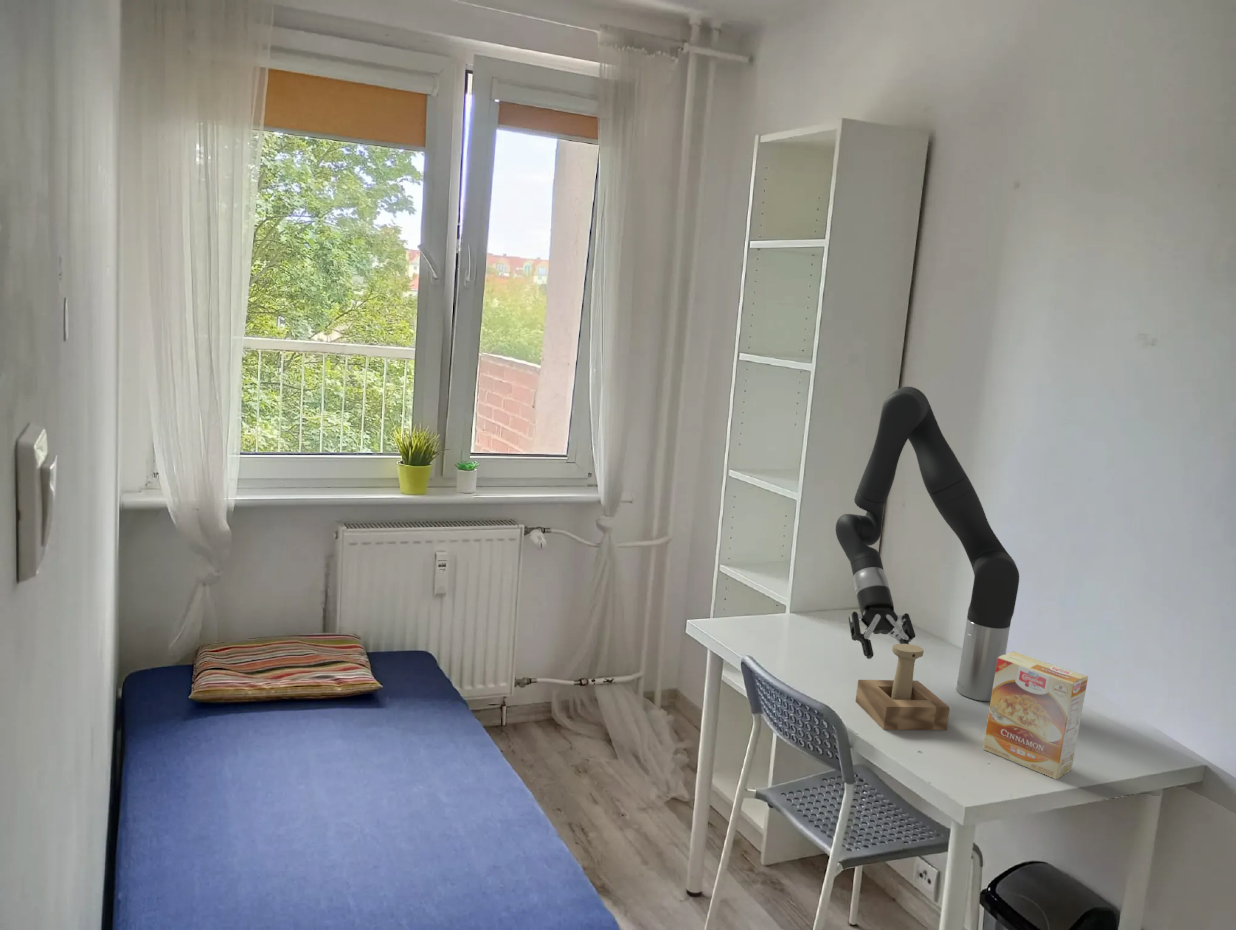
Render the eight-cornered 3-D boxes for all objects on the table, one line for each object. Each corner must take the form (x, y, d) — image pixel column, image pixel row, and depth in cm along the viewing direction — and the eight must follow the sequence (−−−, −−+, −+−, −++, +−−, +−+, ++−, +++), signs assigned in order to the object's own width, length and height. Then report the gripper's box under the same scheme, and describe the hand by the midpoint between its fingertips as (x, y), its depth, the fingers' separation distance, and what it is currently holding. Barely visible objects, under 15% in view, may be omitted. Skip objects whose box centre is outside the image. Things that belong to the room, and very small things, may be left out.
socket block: (914, 701, 213) (917, 680, 212) (946, 730, 199) (949, 707, 199) (855, 701, 210) (858, 679, 210) (883, 729, 197) (886, 706, 196)
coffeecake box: (981, 749, 192) (996, 656, 188) (998, 740, 196) (1013, 649, 193) (1056, 780, 181) (1073, 682, 178) (1072, 770, 186) (1089, 675, 182)
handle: (917, 719, 204) (928, 652, 201) (890, 720, 202) (900, 652, 200) (905, 709, 208) (915, 643, 206) (879, 710, 207) (888, 643, 204)
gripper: (850, 582, 216) (865, 650, 207) (908, 585, 219) (926, 651, 210) (837, 598, 222) (851, 664, 213) (894, 599, 225) (911, 665, 216)
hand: (888, 657), depth 211 cm, fingers open, 8 cm apart
